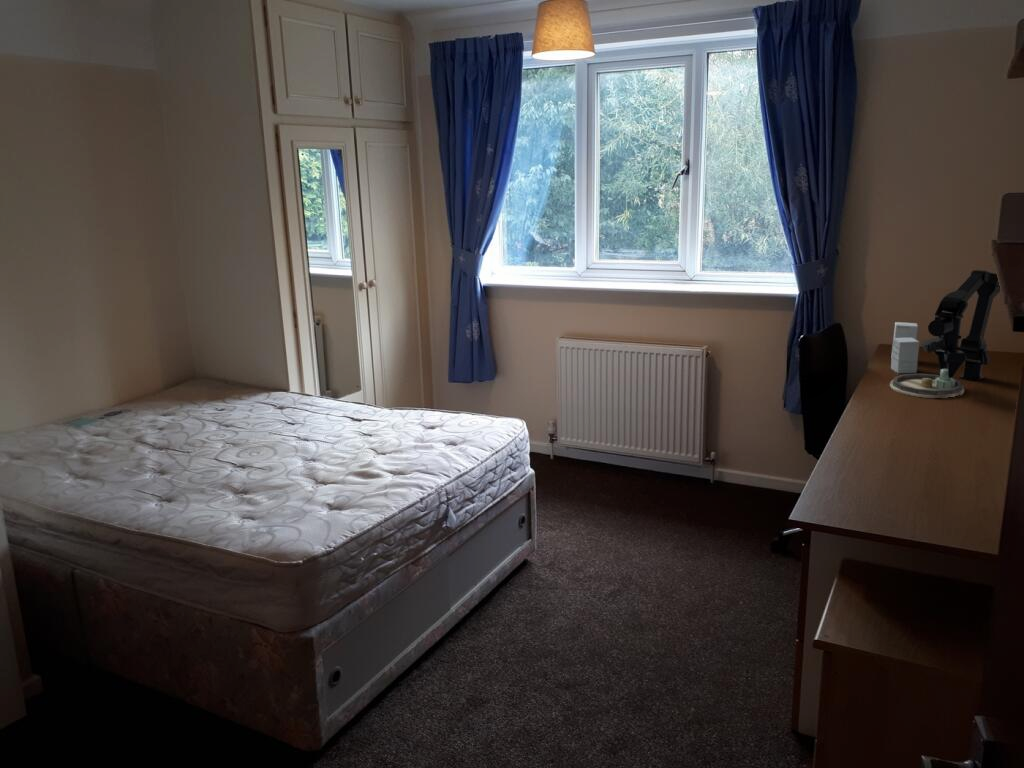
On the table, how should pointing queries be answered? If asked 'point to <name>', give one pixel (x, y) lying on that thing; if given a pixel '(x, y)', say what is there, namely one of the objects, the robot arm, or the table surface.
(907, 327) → the skincare box
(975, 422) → the table surface
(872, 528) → the table surface
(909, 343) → the supplement box
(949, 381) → the pale green domed piece
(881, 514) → the table surface
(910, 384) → the carrier plate
